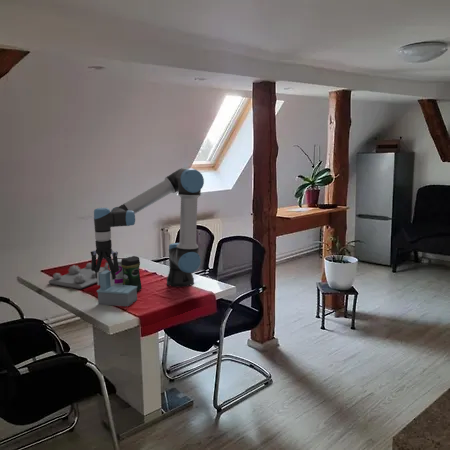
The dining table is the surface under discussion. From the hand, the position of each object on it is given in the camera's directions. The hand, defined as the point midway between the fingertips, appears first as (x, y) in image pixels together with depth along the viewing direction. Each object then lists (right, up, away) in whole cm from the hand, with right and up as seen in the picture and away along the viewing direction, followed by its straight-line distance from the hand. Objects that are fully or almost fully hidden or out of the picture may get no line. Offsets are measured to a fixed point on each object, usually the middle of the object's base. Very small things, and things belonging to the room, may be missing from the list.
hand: (106, 284), depth 224 cm
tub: (+6, -9, 0) cm, 10 cm away
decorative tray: (-22, -3, +40) cm, 46 cm away
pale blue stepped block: (+6, -2, -1) cm, 6 cm away
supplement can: (+1, -4, +25) cm, 25 cm away
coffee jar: (+9, -6, +18) cm, 21 cm away
